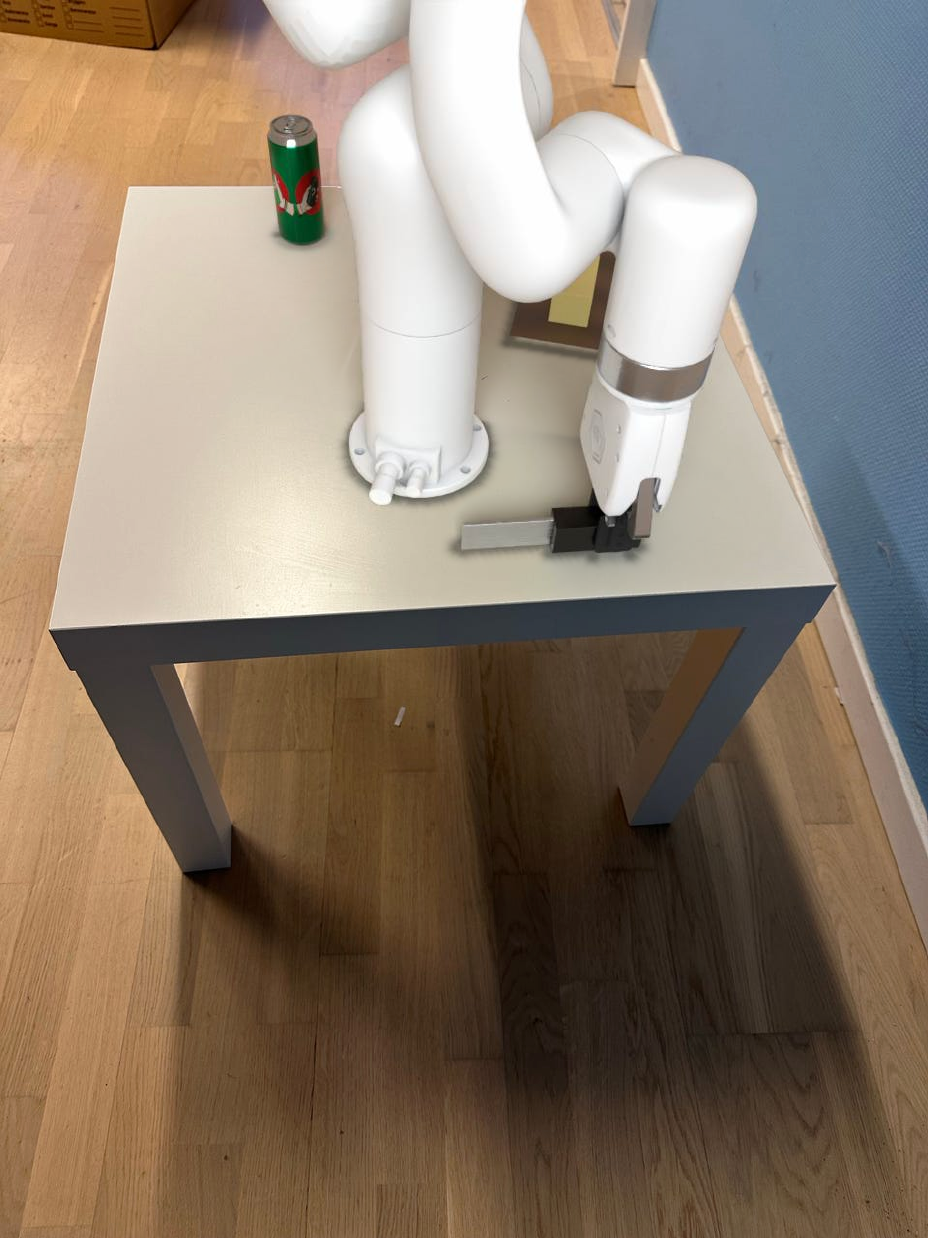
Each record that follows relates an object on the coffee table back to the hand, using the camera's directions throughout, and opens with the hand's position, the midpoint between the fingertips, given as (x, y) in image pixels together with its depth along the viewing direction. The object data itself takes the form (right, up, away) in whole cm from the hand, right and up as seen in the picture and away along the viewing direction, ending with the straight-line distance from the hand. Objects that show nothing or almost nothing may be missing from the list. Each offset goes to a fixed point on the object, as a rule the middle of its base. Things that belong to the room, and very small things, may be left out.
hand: (608, 534), depth 75 cm
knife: (-5, -1, 0) cm, 5 cm away
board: (-1, +27, +20) cm, 33 cm away
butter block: (-1, +26, +18) cm, 32 cm away
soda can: (-30, +36, +25) cm, 53 cm away
